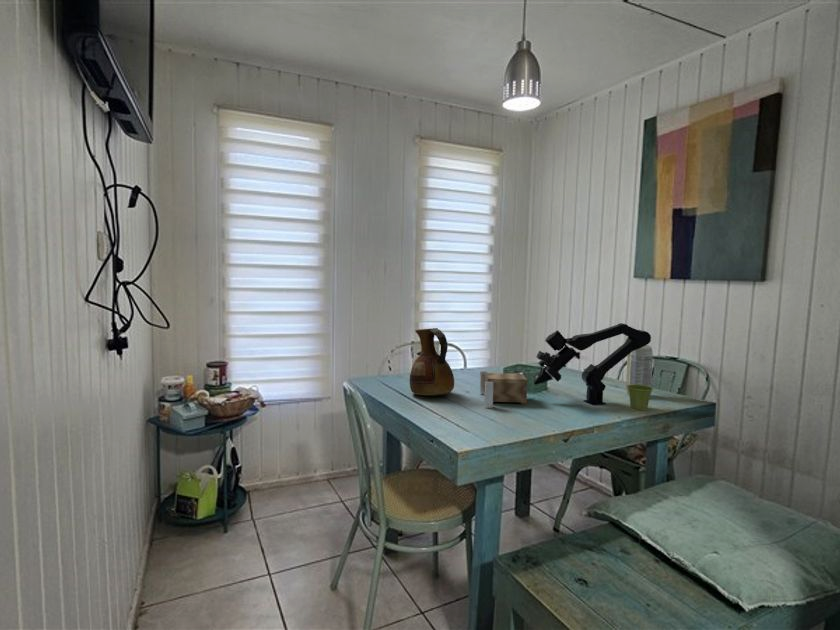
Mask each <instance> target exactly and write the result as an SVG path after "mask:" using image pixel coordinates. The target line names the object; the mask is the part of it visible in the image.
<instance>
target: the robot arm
mask: <svg viewBox="0 0 840 630" xmlns="http://www.w3.org/2000/svg"><path fill="white" fill-rule="evenodd" d="M622 334H623V336H624V335H625V336H626V337H627V338H626V340H625V342H624V343H623V344H622V345H620V346H619V347H617V349H616V350H614V351H613V352H612V353H611V354H609V355H608V356H607V357H606V358H604V359H603V360H602V361H600V362H599V363H598V364H596V365H594V364H592V363H590V364H589V365H588V366H587V367H586V368H584V369H583V372H582V373H581V380H582V381H583V382H584V383H585V386H586V399H583V402H585V403H587V404H590V405H593V406H596V405H606V404H607V403H606V402H605V401H603V400H604V399H603V398H604V397H603V396H604V391H605V390H606V385H605V384H604V382H603V379H604V378H605V376H606V373H608V372H610V370H611V369H613V368H614V367H615V366H616V365H617V364H619V363H620V362H622V361H623V360H624V359H625V358H627V355H629V354H630V353H631V352H632V351H634V350H637V349H639V348H642V347H644V346H645V345H649V344H650V343H651V341H652V335H651V334H650V333H649V332H648V331H645V330H641V329H636V328H634V327H633V326H632V327H631V326H630V325H628V324H627V323H623V322H620V323H619V322H618V324H616V325H612V326H610V327H609V326H608V327H606V328H604V329H600V330H598V331H594V332H591V333H581V334H575V335H573V336H572V337H568V338H565V337H564V336H563V335H562V333H561V332H560V331H559V330H556V331H554V332H552V333H550V334H548V336H547V337H546V338H545V339H544V342H545V343H547V344H548V346H550V347H551V349H552V351H553V350H554V351H558V352H557V353H556V354H550V353H549V352H547V351H545V352H543V351H541V350H539V351H538V352H537V354H536V356H535V358H537V359H538V360H540V361H538V365H539V374H538V375H537V376H536V378H535V380H534V382H533V384H534V385H535V386H537V385H540V384H542V383H545V382H549V381H554V380H555V381H556V382H559V381H560V380H562V375H561V373H560V370H562V369H563V368H566V367H567V364H568V363H569V362H571V361H572V360H573V359H574V357H575V358H576V359H578V360H581V357H580V356H581V352H579V351H584V350H587V349H588V348H591V347H592V346H593V345H594V344H596V343H598V342H601V341H605V340H607V339H611V338H613V337H616V336H617V337H618V336H620V335H622ZM569 346H570V347H569ZM576 350H577V351H576Z"/></svg>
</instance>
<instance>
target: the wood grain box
mask: <svg viewBox="0 0 840 630" xmlns="http://www.w3.org/2000/svg"><path fill="white" fill-rule="evenodd" d="M485 382H493V403H494V402H495V403H496V402H497V403H498V402H499V403H500V402H501V403H520V405H522V406H523V405H525V406H526V405H527V397H528V396H527V395H528V394H527V393H528V379H527V377H525V375H524V374H523V373H505V372H504V373H501V372H499V373H498V372H497V373H495V372H488V373H485ZM483 396H485V394H484V395H483Z"/></svg>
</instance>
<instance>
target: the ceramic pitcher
mask: <svg viewBox="0 0 840 630" xmlns="http://www.w3.org/2000/svg"><path fill="white" fill-rule="evenodd" d="M414 333H416V334H417V335H418V338H419V342H420V347H421V350H420V355H419V356H418V357H417V358H416V359H415V360H414V362H413V364H412V366H411V369H410V372H409V373H410V374H409V388H410V390H411V393H413V394H414V395H421V396H440V395H441V396H442V395H445V394H446V395H449V394H450V393H452V392H453V390H454V388H455V377H454V372H453V369H452V368H451V366H450V364H449V362H448V361H447V360H446V356H447V352H448V341H447V337H446V335H445V333H444V332H443V331H442V330H441V329H439V328H438V327H435V328H434V327H432V328H422V329H415V331H414ZM435 337H436V338H437V340H438V343H439V345H440V346H439V347H440V349H439V350H440V351H439V354H438V352H437V350H436V347H435Z"/></svg>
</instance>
